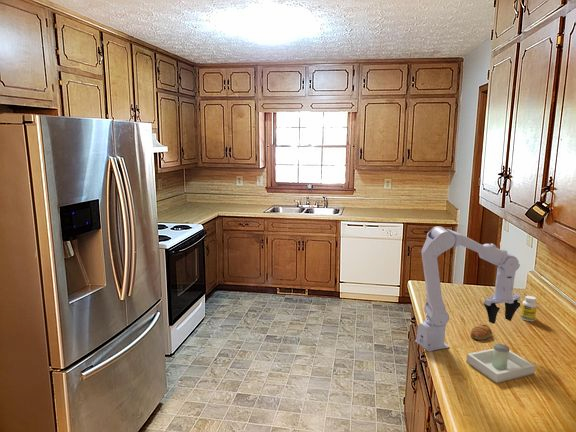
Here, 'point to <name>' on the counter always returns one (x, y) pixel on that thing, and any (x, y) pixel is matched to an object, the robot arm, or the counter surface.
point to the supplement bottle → (529, 308)
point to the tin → (500, 356)
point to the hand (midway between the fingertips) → (499, 321)
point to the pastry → (481, 332)
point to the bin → (484, 364)
